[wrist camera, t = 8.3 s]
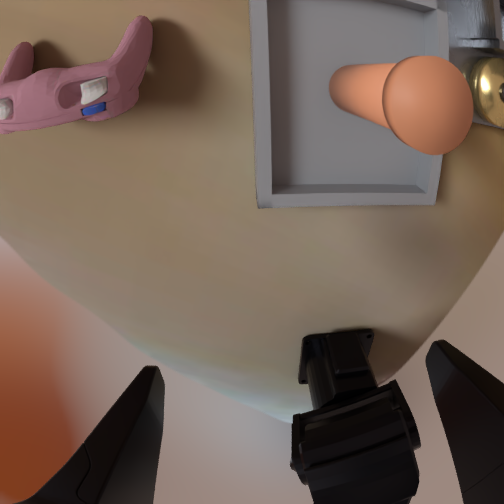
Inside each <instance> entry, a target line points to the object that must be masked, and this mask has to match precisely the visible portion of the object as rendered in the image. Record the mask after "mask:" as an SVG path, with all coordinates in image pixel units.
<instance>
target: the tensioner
mask: <svg viewBox="0 0 504 504" xmlns="http://www.w3.org/2000/svg"><path fill="white" fill-rule="evenodd" d="M443 1H446V4H447V17H448V37H449V62H450V63H452V64H453V65H454V66H455V67H457V68H458V69H459V71H460V72H461V73H462V74H463V76H464V77H465V79H466V81H467V83H468V85H469V87H470V90H471V94H472V99H473V119H472V122H475V123H479V124H484V125H488V126H493V127H497V128H501V129H504V0H443Z"/></svg>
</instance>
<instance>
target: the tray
mask: <svg viewBox="0 0 504 504" xmlns="http://www.w3.org/2000/svg"><path fill="white" fill-rule="evenodd" d="M249 18H250V43H251V69H252V95H253V123H254V152H255V181H256V199H257V205H258V208H280V207H309V206H351V205H435V201H436V196H437V190H438V184H439V178H440V171H441V164H442V157H443V154H441V155H429V154H425V153H422V152H420V151H418V150H416V149H414V148H412V147H410V146H408V145H406V144H405V143H403V142H402V141H400V140H399V139H398V138H397V137H396V136H395V134H394V133H393V132H392V130H391V129H388V128H386V127H384V126H381V125H379V124H376V123H374V122H371V121H369V120H366V119H364V118H361V117H358V116H356V115H353V114H350V113H348V112H345V111H343V110H341V109H340V108H338V107H337V106H336V105H335V103H334V102H333V101H332V99H331V96H330V93H329V82H330V79H331V77H332V75H333V73H334V72H335V71H336V70H337V69H339V68H340V67H343V66H346V65H356V64H381V63H398V62H400V61H401V60H403V59H405V58H408V57H411V56H437V57H440V58H443V59H445V60H447V61H449V37H448V17H447V4H446V1H443V0H249Z"/></svg>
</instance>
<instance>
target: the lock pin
mask: <svg viewBox="0 0 504 504" xmlns="http://www.w3.org/2000/svg"><path fill="white" fill-rule="evenodd" d="M329 93H330V96H331V99H332V101H333V102H334V103H335V105H336V106H337V107H338V108H340V109H341V110H343V111H345V112H348V113H350V114H353V115H356V116H358V117H361V118H364V119H366V120H369V121H371V122H374V123H376V124H379V125H381V126H384V127H386V128H388V129H391V130H392V132H393V133H394V134H395V136H396V137H397V138H398V139H399V140H400V141H402V142H403V143H405V144H406V145H408V146H410V147H412V148H414V149H416V150H418V151H420V152H422V153H425V154H429V155H441V154H445V153H448V152H450V151H452V150H453V149H455V148H456V147H457V146H458V145H460V144H461V142H462V141H463V140H464V138H465V137H466V135H467V133H468V131H469V129H470V126H471V123H472V119H473V99H472V94H471V90H470V87H469V85H468V83H467V81H466V79H465V77H464V76H463V74H462V73H461V72H460V71H459V69H458V68H457V67H455V66H454V65H453V64H452V63H450V62H449V61H447V60H445V59H443V58H440V57H437V56H411V57H408V58H405V59H403V60H401V61H400V62H398V63H381V64H356V65H346V66H343V67H340V68H339V69H337V70H336V71H335V72H334V73H333V75H332V77H331V79H330V82H329Z"/></svg>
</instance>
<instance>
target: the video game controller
mask: <svg viewBox="0 0 504 504" xmlns="http://www.w3.org/2000/svg"><path fill="white" fill-rule="evenodd" d="M152 42H153V27H152V25H151V22H150V21H149V19H148V18H147V17H145V16H138V17H136V18H135V19H134V20H133V21H132V22H131V23H130V24H129V26H128V28H127V30H126V32H125V34H124V36H123V38H122V41H121V42H120V44H119V46H118V48H117V50H116V51H115V53H114V54H113V55H112V57H111V58H109V59H108V60H105V61H102V62H96V63H90V64H85V65H81V66H76V67H72V68H48V69H43V70H40V71H37V72H35V73H33V74H32V69H33V62H34V51H33V49H34V48H33V47H32V45H31V44H30V43H29V42H22V43H20V44H19V45H17V46H16V47H15V48H14V49H13V50H12V52H11V53H10V55H9V57H8V59H7V61H6V63H5V66H4V68H3V71H2V73H1V76H0V133H1V134H9V133H12V132H15V131H25V130H33V129H41V128H46V127H51V126H56V125H60V124H64V123H69V122H72V121H76V120H79V119H84V120H87V121H101V120H106V119H109V118H113V117H116V116H118V115H120V114H122V113H124V112H126V111H127V110H129V109H130V108H132V107H133V106H134V105H135V104H136V102H137V101H138V99H139V90H138V87H139V85H140V83H141V82H142V79H143V76H144V73H145V70H146V67H147V64H148V61H149V57H150V54H151V49H152Z"/></svg>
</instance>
